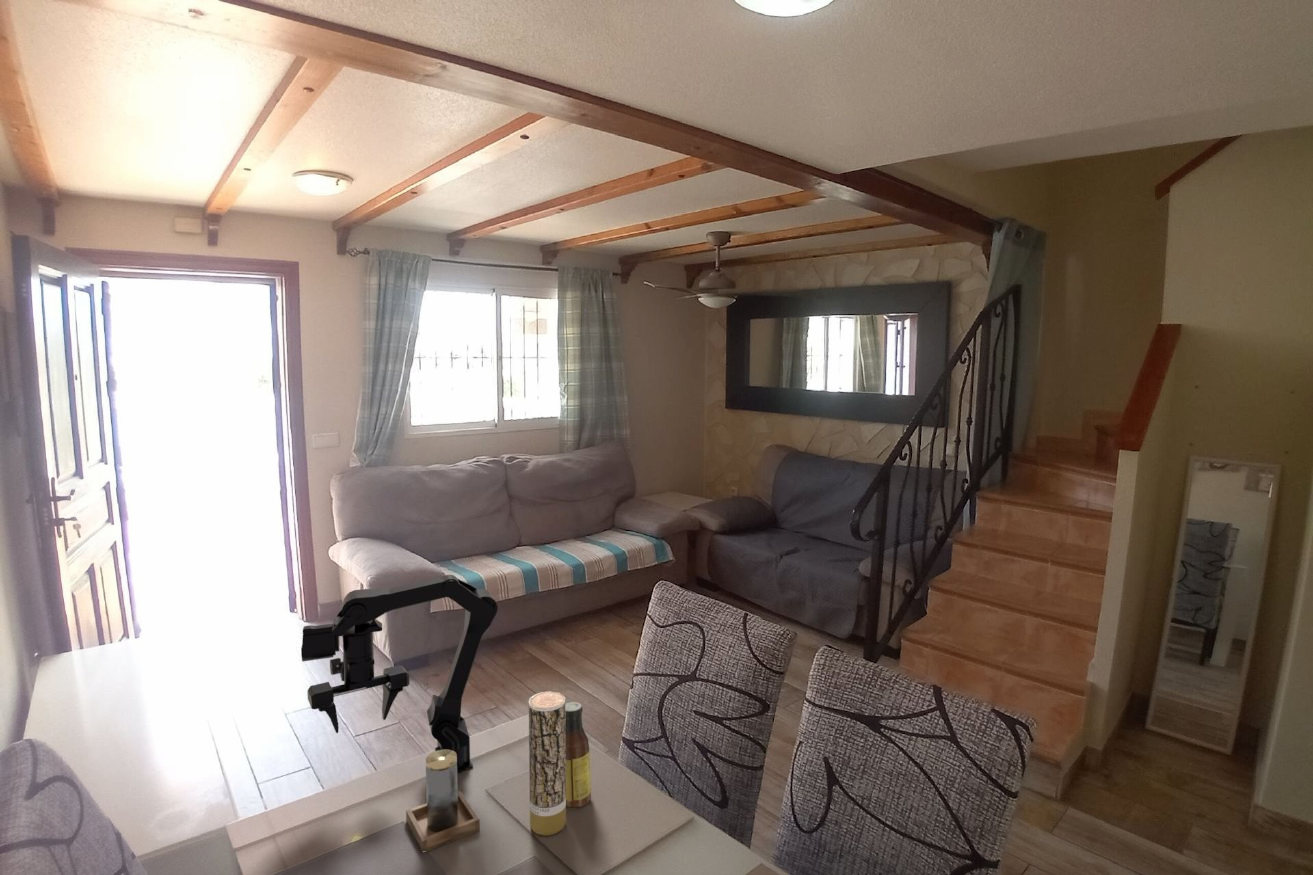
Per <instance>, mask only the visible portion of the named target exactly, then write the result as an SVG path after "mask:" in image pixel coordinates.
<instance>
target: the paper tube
mask: <svg viewBox="0 0 1313 875" xmlns="http://www.w3.org/2000/svg"><path fill="white" fill-rule="evenodd" d="M565 704H566V697H565V696H564V695H563V694H562V693H560V692H558V691H557V692H556V691H542V692H538V693H536V694H534V695H532V696H531V697H529V700H528V746H529V747H528V756H529V757H528V758H529V759H528V761H529V766H528V767H529V768H528V769H529V822H530V823H529V825H530V826H529V827H530V828H531V830H532V831H533V832H534V833H535V834H537V835H540V836H552V835H556V834H558V833H559V832H561V830H563V828H564V827H565V825H566V821H567V806H566V733H565Z"/></svg>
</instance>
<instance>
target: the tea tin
mask: <svg viewBox="0 0 1313 875" xmlns="http://www.w3.org/2000/svg"><path fill="white" fill-rule="evenodd" d="M425 783H426V784H425V785H426V786H425V787H426V803H427V827H428V829H429V830H430V831H433V832H441V831H443V830H446V829H448V828H451V827H453V826H455V825H456V824H457V822H458V792H459V791H458V772H457V754H456V752H454V751H452V750H447V749H444V750H438V751H435V750H434V751H433V752H431V753H430V754H428V755H427V757H425Z"/></svg>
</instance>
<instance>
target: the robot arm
mask: <svg viewBox="0 0 1313 875" xmlns="http://www.w3.org/2000/svg"><path fill="white" fill-rule="evenodd" d="M444 598H449V599H450V600H452V601H454V602H455V603H456V604H457V605H459V606H460V607H461V608H463V609H464V611H465V612H464V627H463V631H462V633H461V637H460V640H459V643H458V647H457V649H456V652H455V655H454V657H453V661H452V665H451V667H450V670H449V672H448V676H447V680H446V682H445V686H444V688H443V690H442V692H440V694H439V695H436V694H432V696H431V702H430V705H429V707H428V708H427V710H426V715H427V720H428V725H429V726H430V727H429V728H430V733H431V735H432V737H433V739H435V740H436V741H437V742H436V746H435V748H434V752H435V751H438V750H444V749H447V750H452V751H454V752H456V754H457V773H459V772H462V771H465V770H468V769H471V768H473V767H474V764H473V762H472V761H471V744H470V742H471V741H470V738H471V737H470V733H469V730H468V726H467V724H466V720H465V718H464V717H463V716H462V715H461V714H462V702H463V701H462V700H463V695H464V692H465V688H467V684H468V680H469V679H470V678H469V676H470V674H471V671H472V669H473V666H474V665H473V664H474V662H475V659H476V656H477V654H478V650H479V647H480V644H481V641H482V638H483V636H484V635H485V633H486V632H487V631H488V630H489V628H490V627H491V625H492V624H493V621H494V620H495V618H496V616H497V614H498V610H499V608H498V604H497V602H496V600H495V598H494V596H493V595H492V592H491V591H489V590H488V589H486V588H477V587H475V586H474V585H472V584H470V583H469V582H468V583H467V582H466V581H463V580H461V579H459V578H457V577H456V576H455V575H454V574H446V575H444V576H440V577H437V578H432V579H428V580H424V581H418V582H414V583H409V584H406V585H401V586H398V587H393V588H387V589H379V588H365V589H364V588H363V589H355V590H352V591H349V592H348V593H347V594H346V595H345V597H343V601H342V604H341V609H340V610H339V612H338V613H337V615H336V616H335V617H334V618H333V622H332V623H327V624H320V625H304V626H303V628H302V642H301V647H300V648H301V649H300V651H301V652H300V653H301V654H300V655H301V662H310V661H317V660H324V659H329V667H330V668H329V669H330V675H331V676H333V675H337V674H338V675H339V674H340V675H339V676H340V680H341V682H343V684H340V685H335V686H331V684H330V682H329V681H326V682H321V683H318V684H313V685H310V686H309V688H307V700H308V703H309V706H310V707H311V710H318V711H319V712H325V713H326V715H327V716H328V718H329V719H330V722H331V724H332V726H333V729H334V731H335V733H336V734H338V733H339V730H340V728H339V722H338V720H339V719H338V714H337V706H336V703H335V698H334V697H339V696H343V695H347V694H351V693H355V692H358V691H364V690H366V689H371V688H375V687H380V686H382V704H381V706H382V707H381V715H382V716H381V717H382V719H383V721H386V719H387V717H388V714H389V713H390V709H391V708H392V706H393V704H394V701H395V700H396V698H397V697H398V694H399V693H400V692H403V691H404V688H406V687H408V686H409V685H410V674H409V673H408V671H407V670H406V669H405V667H403V666H402V665H401V664H398V665H395V666H390V667H386V668H383V673H382V675H381V674H380V675H377V676H375V657H374V656H375V655H374V633H376V632H382V631H383V622H381V621H379V620H378V618H380V617H382V616H383V615H385V614H386V613H388V612H391V611H394V610H398V609H402V608H407V607H411V606H416V605H420V604H423V603H427V602H431V601H437V600H440V599H444ZM340 637H342V651H343V652H342V654H343V655H342V657H343V658H342V659H341V657H336V658H334V656H336V653H337V652H340V648H341V646H340V644H341V642H340ZM331 658H332V659H331Z"/></svg>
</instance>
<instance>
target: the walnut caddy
mask: <svg viewBox="0 0 1313 875" xmlns="http://www.w3.org/2000/svg"><path fill="white" fill-rule="evenodd" d="M457 792H458V822H457V824H456V825H455V826H453V827H451V828H448V829H446V830H443V831H441V832H433V831H430V830H429V829H428V827H427V802H426V803H424V804H421V805H418V806H415V807H412V808H409V809H407V810H405V818H406V819H405V821H406V824H407V825H408V827H409V829H410V831H411V833H412V835H413V837H414V836H415V837H414V839H415V838H416V839H415V840H417V841H416V842H418V843H417V845H418V844H419V845H418V846H419V848H420V847H421V848H420V850H421V849H422V850H421V852H422V851H426V852H429V851H431V850H434V849H435V848H438V847H442V846H444V845H446V844H449V843H452V842H454V841H457V840H458V839H461V838H464V837H467V836H468V835H471V834H474V833H476V832H479V831H480V826H481V825H480V821H481V820H480V817H478V815H477V814H476V812H475V811H474V809H473V807H472V806H471V805H470V804H469V802H468V800H467V799H466V797H465V796H464V795H463V794H462V791H457Z"/></svg>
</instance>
